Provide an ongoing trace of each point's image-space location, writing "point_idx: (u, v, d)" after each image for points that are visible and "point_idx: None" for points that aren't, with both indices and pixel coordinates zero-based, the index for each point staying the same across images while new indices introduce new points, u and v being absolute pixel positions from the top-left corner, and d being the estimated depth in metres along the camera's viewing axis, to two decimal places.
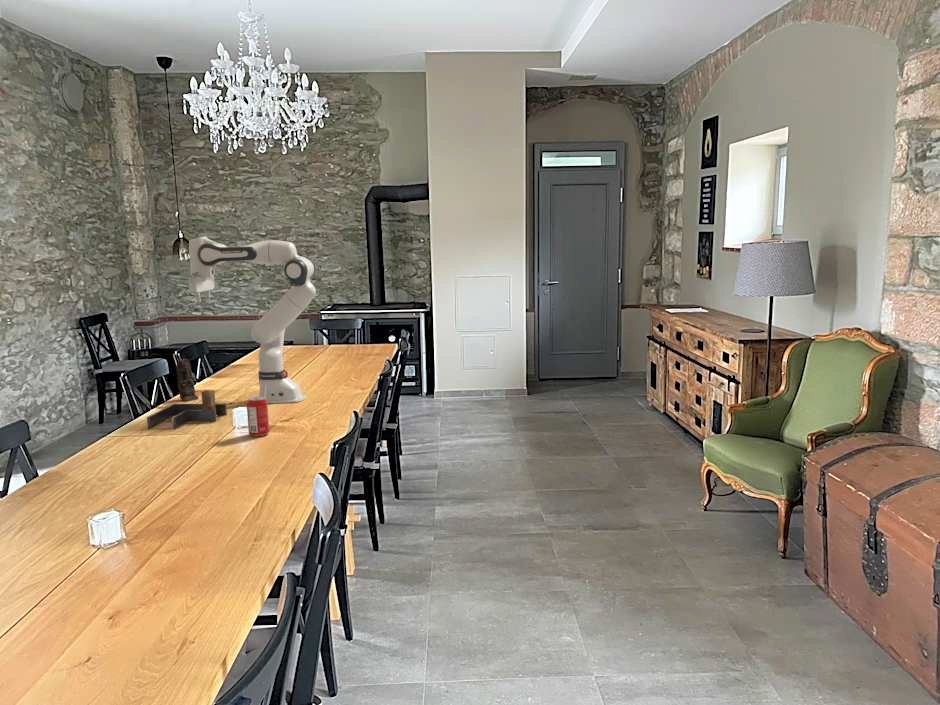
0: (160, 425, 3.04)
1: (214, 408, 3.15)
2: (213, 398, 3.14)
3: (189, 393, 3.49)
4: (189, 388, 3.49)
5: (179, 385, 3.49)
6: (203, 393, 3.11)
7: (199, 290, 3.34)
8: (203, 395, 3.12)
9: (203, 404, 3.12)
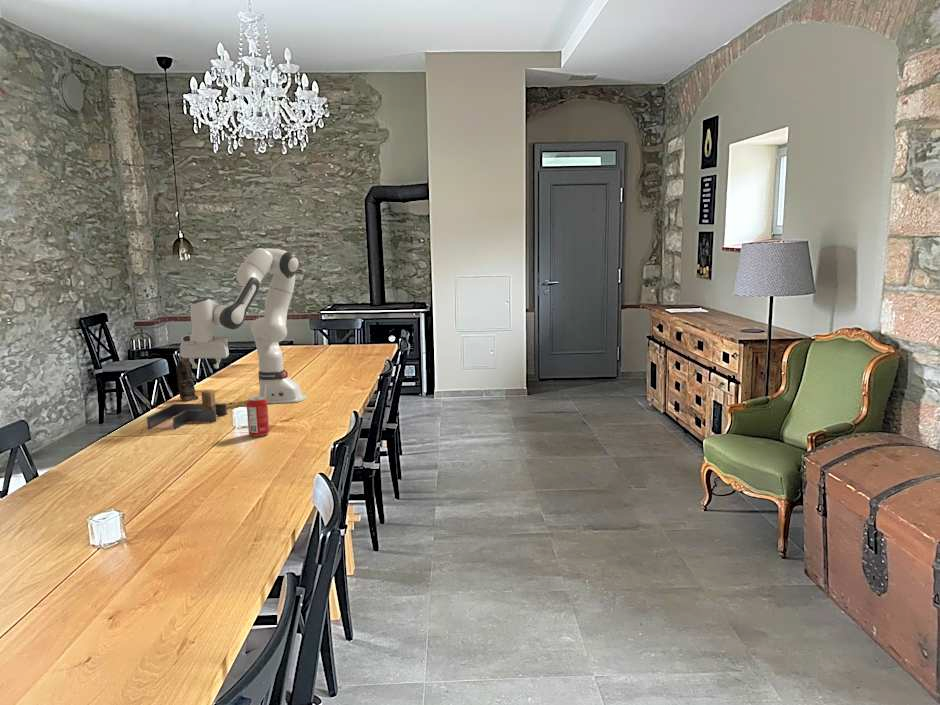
0: (160, 425, 3.04)
1: (214, 408, 3.15)
2: (213, 398, 3.14)
3: (189, 393, 3.49)
4: (189, 388, 3.49)
5: (179, 385, 3.49)
6: (203, 393, 3.11)
7: None
8: (203, 395, 3.12)
9: (203, 404, 3.12)
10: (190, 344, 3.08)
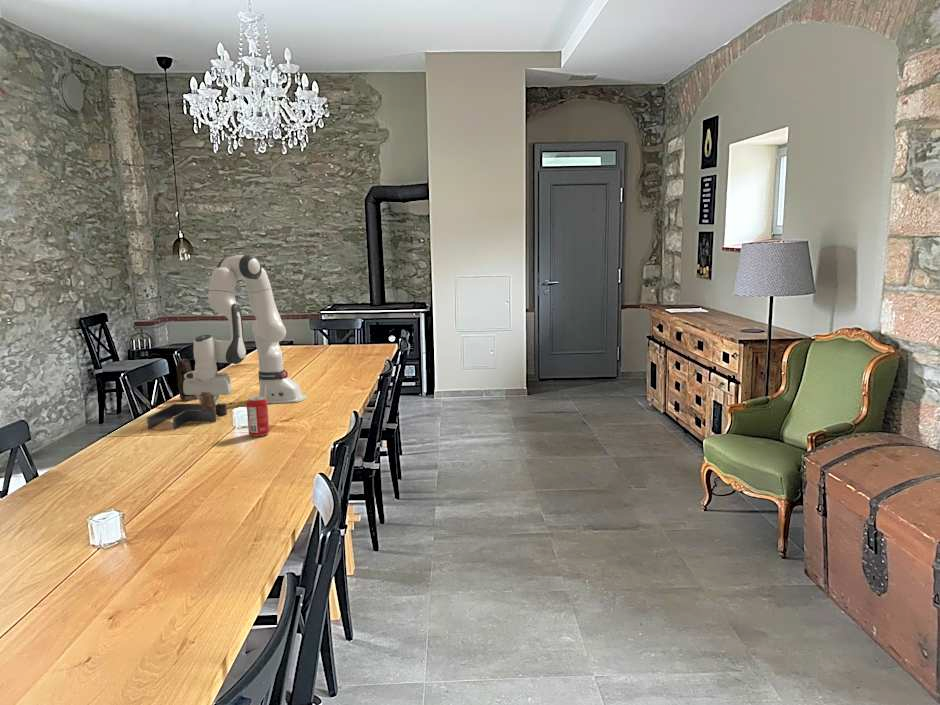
0: (160, 425, 3.04)
1: (214, 408, 3.15)
2: (213, 398, 3.14)
3: None
4: None
5: (179, 385, 3.49)
6: (203, 393, 3.11)
7: None
8: (203, 395, 3.12)
9: (203, 404, 3.12)
10: (193, 381, 3.10)
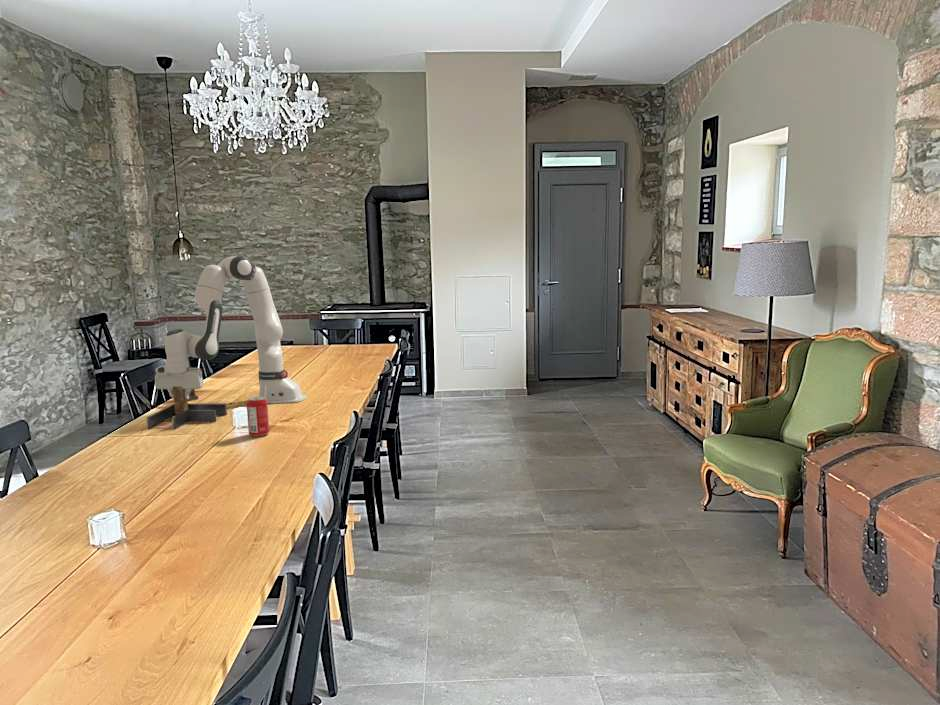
0: (160, 425, 3.04)
1: (186, 402, 3.15)
2: (184, 392, 3.14)
3: None
4: None
5: None
6: (174, 387, 3.12)
7: None
8: (174, 389, 3.12)
9: (175, 398, 3.13)
10: (165, 375, 3.11)
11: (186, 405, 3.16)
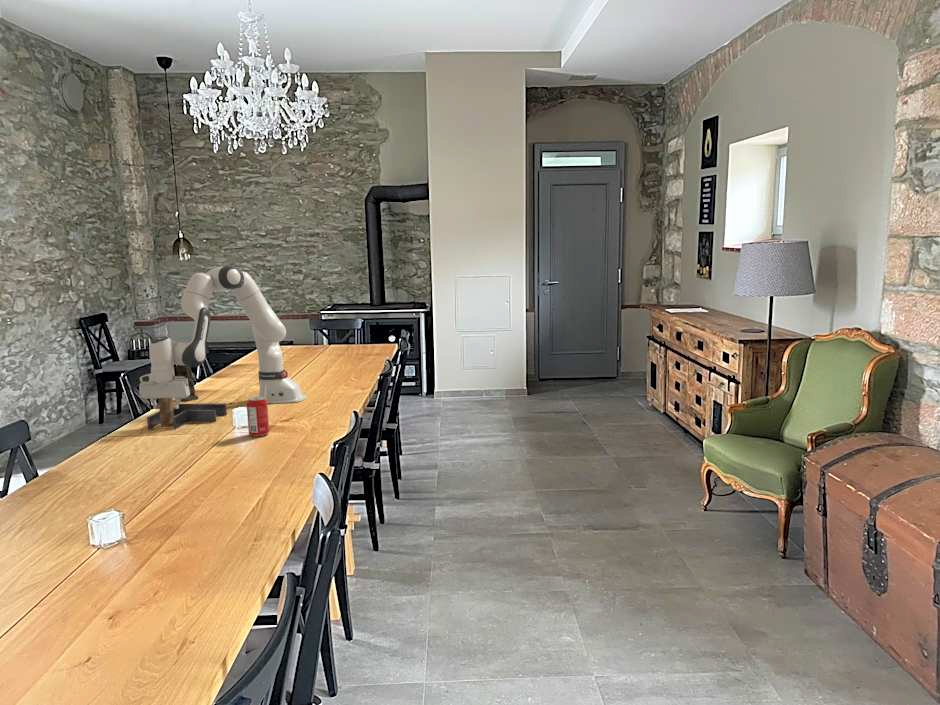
0: (160, 425, 3.04)
1: (172, 414, 3.04)
2: (170, 404, 3.03)
3: None
4: (189, 388, 3.49)
5: None
6: (160, 399, 3.01)
7: None
8: (160, 401, 3.01)
9: (160, 410, 3.01)
10: (149, 384, 2.99)
11: (172, 417, 3.04)
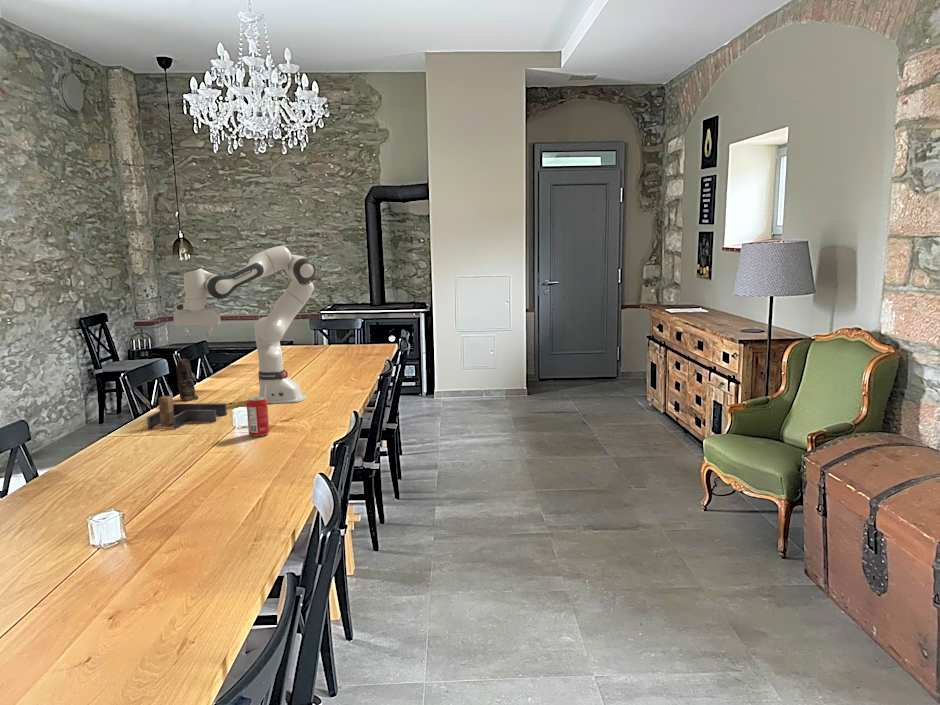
0: (160, 425, 3.04)
1: (172, 414, 3.04)
2: (170, 404, 3.03)
3: (189, 393, 3.49)
4: (189, 388, 3.49)
5: (179, 385, 3.49)
6: (160, 399, 3.01)
7: None
8: (160, 401, 3.01)
9: (160, 410, 3.01)
10: (183, 312, 3.19)
11: (172, 417, 3.04)
